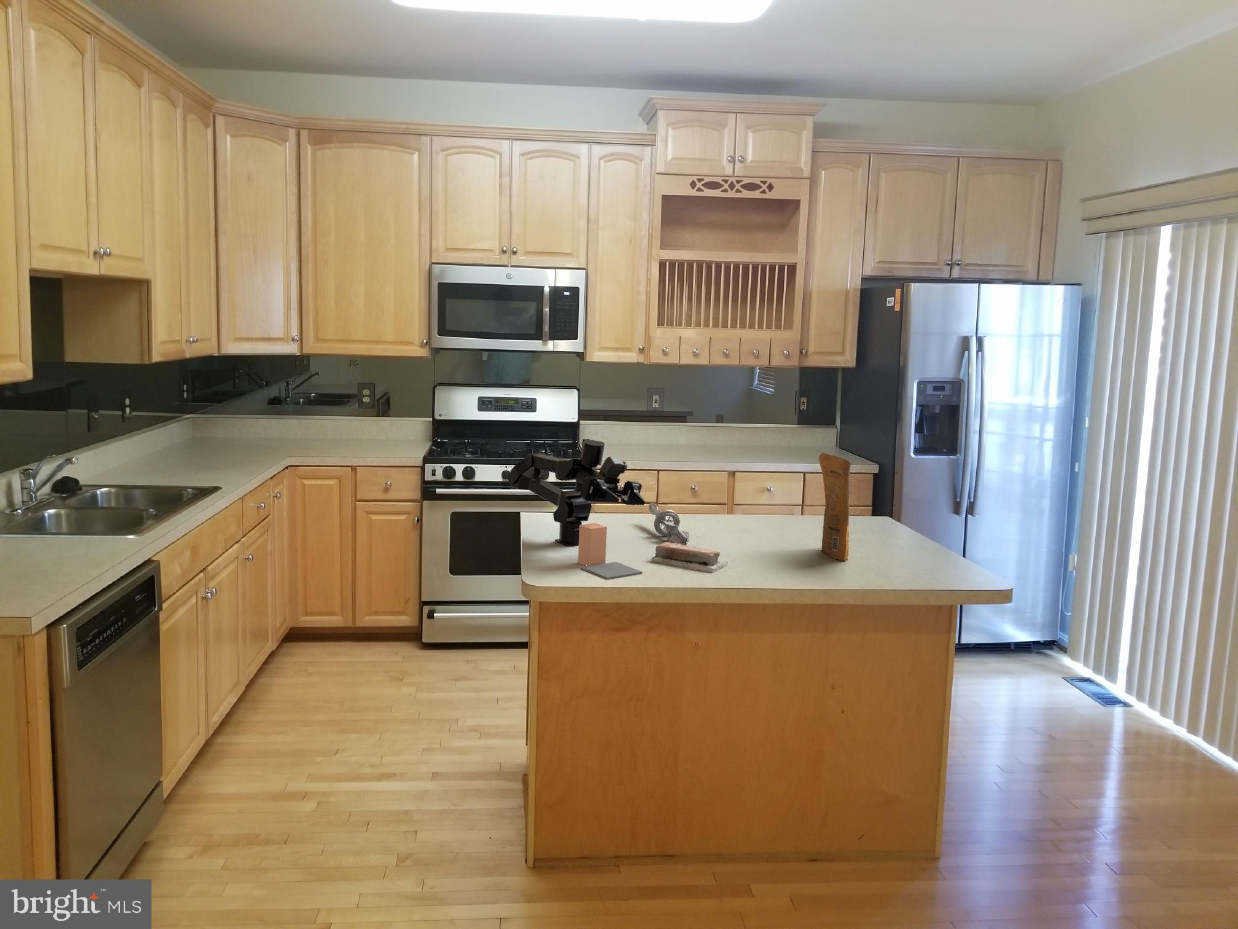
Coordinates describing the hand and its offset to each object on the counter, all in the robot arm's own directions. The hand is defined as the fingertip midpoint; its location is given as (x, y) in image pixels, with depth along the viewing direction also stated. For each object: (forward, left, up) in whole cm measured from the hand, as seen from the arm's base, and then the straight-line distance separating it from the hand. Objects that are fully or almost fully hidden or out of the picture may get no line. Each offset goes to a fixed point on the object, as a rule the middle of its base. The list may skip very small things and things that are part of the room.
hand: (631, 502), depth 257 cm
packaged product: (+8, +14, -17) cm, 23 cm away
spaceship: (-19, +29, -16) cm, 39 cm away
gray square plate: (+4, -9, -16) cm, 19 cm away
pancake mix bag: (+20, +57, -16) cm, 63 cm away
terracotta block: (-4, -9, -16) cm, 19 cm away
